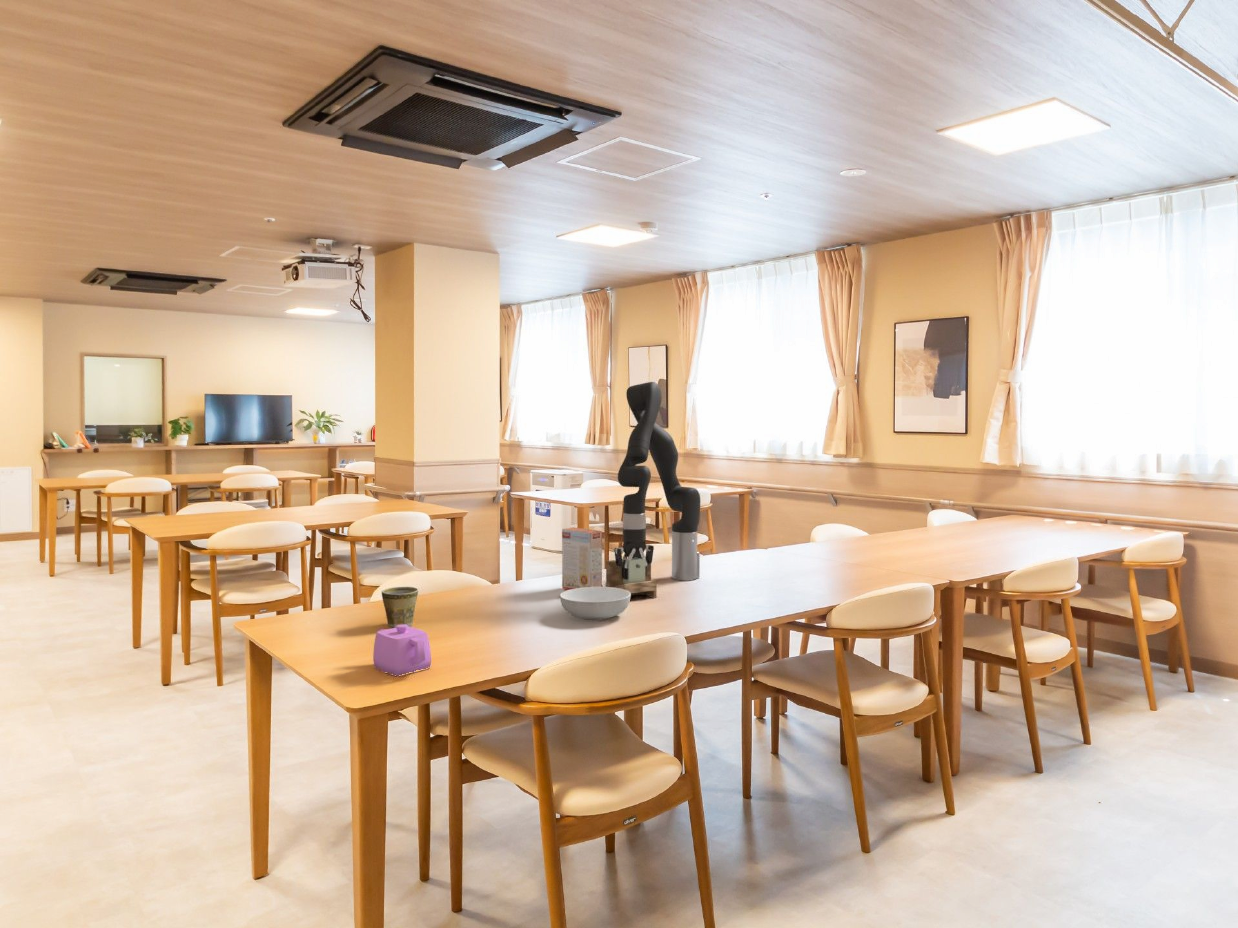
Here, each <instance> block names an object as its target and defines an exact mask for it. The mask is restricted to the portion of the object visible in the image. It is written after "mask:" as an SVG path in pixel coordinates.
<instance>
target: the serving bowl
mask: <svg viewBox="0 0 1238 928" xmlns="http://www.w3.org/2000/svg"><path fill="white" fill-rule="evenodd" d="M631 597H632V596H631V594H630V592H629V591H627V590H624V589H620V588H613V587H606V586H602V587H583V588H575V589H571V590H564V591H562V592H561V593H560V594H559V599H560V600H559V601H560V604H561V606H562V608H563V610H564V611H565V612H566V613H567V614H569V615H571V616H573V617H576V618H579V619H584V620H588V621H603V620H607V619H610V618H612V617H613V618H614V617H615V616H618V615H620V614H622V613H623V612H625V610H626V609H627V608H628V606H629V604H630V602H631V601H630V600H631Z"/></svg>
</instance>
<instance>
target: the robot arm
mask: <svg viewBox="0 0 1238 928" xmlns="http://www.w3.org/2000/svg"><path fill="white" fill-rule="evenodd" d="M625 394H626V395H625V396H626V400H627V404H628V406H629V409H630V411H631V412H632V415H633V416H634V418H635V420H636V422H637V423H636V425H635V427H634V428H633V429H632V431H631V433H630V435H629V438H628V442H627V451H626V454H625V457H624V459H623V461H622V463H621V465H620V466H619V467H620V468H619V469H618V472H617V480H618V484H619V485H620V486H621V487H625V488H638V490H637V492H635V493H631V494H627V495H624V496H623V513H622V514H623V515H622V542H623V544H622V546H621V547H614V549H613V551H614V558H615V559H614V560H616V565H617V566H620V567H621V568H622V577H623V579H625V580H627V579H628V568H627V567H628V561H629V560H632V559H633V558H641V559H645V576H646V574H647V565H648V564H651V565H652V563H653V558H654V557H653V556H654V549H655V548H654V547H655V546H654V545H652V544H646V539H647V535H646V534H647V528H646V527H647V520H646V519H647V518H646V497H647V492H648V488H649V486H650V481H651V477H652V473H651V470H650V468H649V467H648V466H646V465H641V464H645V462H647V461H648V458H649V453H650V456H651V458H652V461H653V463H654V465H655V468H656V471H657V472H658V473H657V474H658V476H659V479H660V482H661V485H662V489H663V492H664V495H665V499H666V503H667V505H668V507H669V508H670V509H671V510H672V511H674V512H678V513H681V517H680V519H679V520H677V521H674V522H673V523H672V525H671V579H674V580H675V581H676V580H677V581H693V580H697V579H700V561H701V560H700V558H701V556H700V555H701V554H700V551H698V530H699V529H698V528H699V524H700V518H701V494H700V492H699V491H698V489H697V488H695V487H690V486H688V487H687V486H682V485H681V484H680V482H679V479H678V476H677V466H678V461H679V452H678V448H677V446H676V444H675V442H674V439H673V437H672V435H671V434H670V433H669V432H668V431H667V430H666V429H664V428H663V427H662V426H661V425H659V424H658V423H657V422H656V420H657V418H658V414H659V411H660V408H661V405H662V398H663V397H662V396H663V393H662V390H661V388H660V386H659V384H658V383H656V382H655V381H649V382H648V381H647V382H644V383H638V384H635V385H631V386H629V387H627V390H626V393H625ZM644 552H645V553H644ZM623 553H624V554H623ZM622 554H623V555H622ZM622 559H623V561H622ZM625 560H626V562H625Z"/></svg>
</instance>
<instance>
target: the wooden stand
mask: <svg viewBox="0 0 1238 928" xmlns="http://www.w3.org/2000/svg"><path fill="white" fill-rule="evenodd" d="M622 561H623V558H622ZM605 573H606V575H605V587H613V588H620V589H624V590H627V591H629V592H630V594H631V597H632V596H633V597H634V596H640V595H644V596H648V597H650V598H652V599H656V598H657V597H658V595H657V593H658V592H657V584H658V583H657V580H655V579H654V580H652V563H651V564H648V565H647V574H646V576H645V582H638V583H630V584H625V583H623V577H622V568H621V567H620V566H617V565H616V560H615V559H613V560H611V559H610V560H606V562H605Z"/></svg>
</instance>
